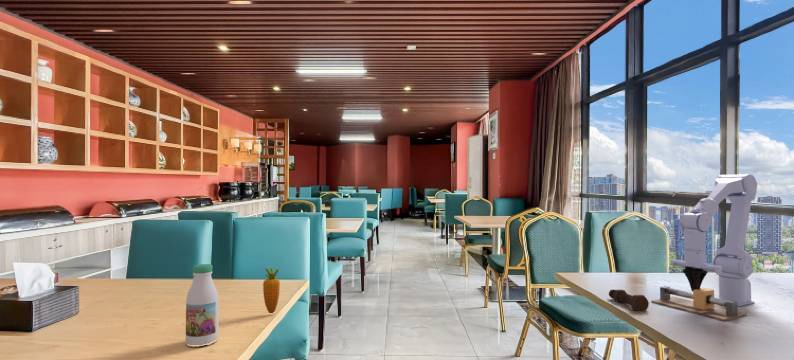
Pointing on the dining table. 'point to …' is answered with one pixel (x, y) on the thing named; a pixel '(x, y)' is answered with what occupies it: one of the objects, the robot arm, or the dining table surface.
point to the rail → (730, 305)
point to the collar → (702, 298)
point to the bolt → (630, 300)
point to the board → (688, 306)
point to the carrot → (271, 290)
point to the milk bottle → (202, 308)
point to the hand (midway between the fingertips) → (695, 291)
